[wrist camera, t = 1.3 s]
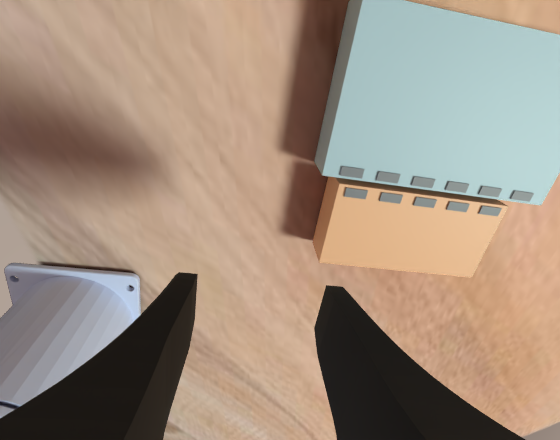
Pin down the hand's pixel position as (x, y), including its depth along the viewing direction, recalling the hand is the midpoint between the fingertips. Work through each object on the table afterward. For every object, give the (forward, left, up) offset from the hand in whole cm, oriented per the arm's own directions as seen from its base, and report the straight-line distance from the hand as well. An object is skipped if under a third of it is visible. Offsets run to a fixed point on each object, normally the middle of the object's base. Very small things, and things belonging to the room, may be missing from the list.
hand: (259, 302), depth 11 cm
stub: (0, -9, -9) cm, 13 cm away
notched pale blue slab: (+7, -9, -9) cm, 15 cm away
